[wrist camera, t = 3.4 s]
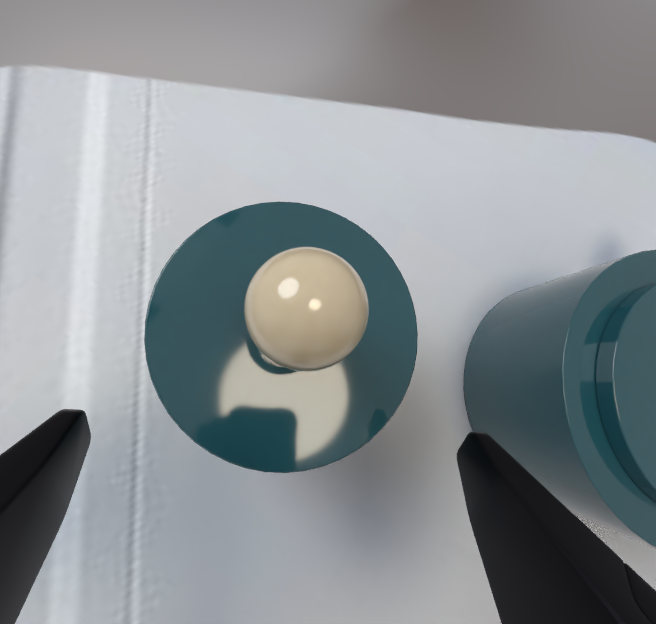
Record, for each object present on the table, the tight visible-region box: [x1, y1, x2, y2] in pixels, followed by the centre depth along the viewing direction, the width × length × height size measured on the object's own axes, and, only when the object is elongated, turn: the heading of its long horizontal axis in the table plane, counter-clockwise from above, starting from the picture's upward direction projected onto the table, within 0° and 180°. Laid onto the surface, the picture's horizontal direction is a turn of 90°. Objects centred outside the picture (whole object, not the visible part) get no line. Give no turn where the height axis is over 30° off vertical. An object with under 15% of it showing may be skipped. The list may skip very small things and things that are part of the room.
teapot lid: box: [144, 202, 418, 473], centre depth 10 cm, size 9×9×6 cm
